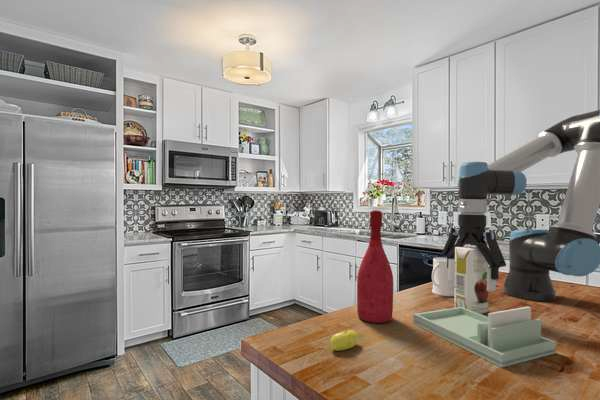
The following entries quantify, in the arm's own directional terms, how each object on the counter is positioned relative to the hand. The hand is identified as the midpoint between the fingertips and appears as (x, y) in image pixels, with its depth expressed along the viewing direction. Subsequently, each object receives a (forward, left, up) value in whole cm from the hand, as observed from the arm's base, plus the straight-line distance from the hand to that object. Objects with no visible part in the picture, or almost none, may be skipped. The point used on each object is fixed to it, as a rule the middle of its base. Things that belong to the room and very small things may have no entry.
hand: (470, 284), depth 100 cm
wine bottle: (+31, -5, -8) cm, 32 cm away
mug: (-6, -17, -8) cm, 20 cm away
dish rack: (+15, +15, -8) cm, 22 cm away
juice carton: (0, 0, -8) cm, 8 cm away
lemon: (+48, +8, -8) cm, 49 cm away
